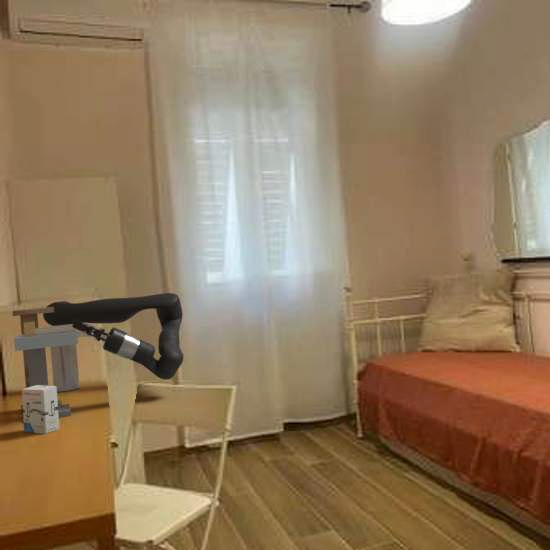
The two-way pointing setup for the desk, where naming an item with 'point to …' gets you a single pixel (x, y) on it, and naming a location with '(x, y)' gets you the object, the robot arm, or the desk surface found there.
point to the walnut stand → (25, 316)
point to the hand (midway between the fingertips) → (72, 322)
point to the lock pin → (50, 330)
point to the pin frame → (43, 358)
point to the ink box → (40, 409)
